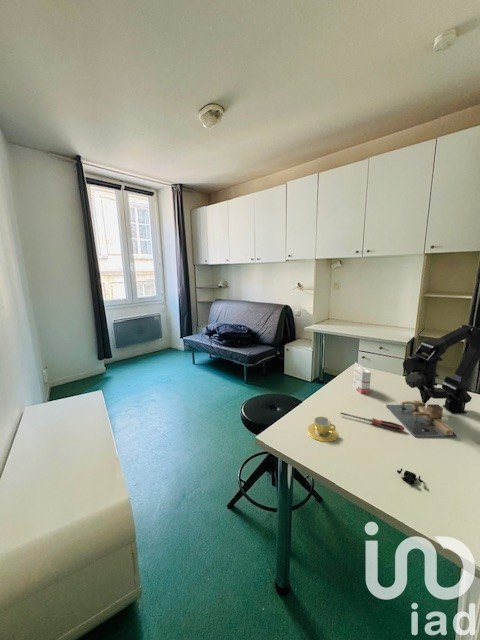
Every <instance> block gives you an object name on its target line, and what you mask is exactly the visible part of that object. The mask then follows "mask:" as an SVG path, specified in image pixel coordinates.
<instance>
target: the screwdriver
mask: <svg viewBox="0 0 480 640" xmlns="http://www.w3.org/2000/svg"><path fill="white" fill-rule="evenodd" d="M339 414H341V415H344V416H347V417H352V418H355V419H360V420H363V421H367V422H369V423H371V425H377V426H379V427H381V428H382V427H383V428H386V429H389V430H392V431H399V432H404V431H405V426H404V425H403V424H402V425H401V424H399V423H396V422H393V421H387V420H382V419H376V418H374V417H373V418H366V417H361V416H357V415H355V414H353V415H352V414H349V413H345V412H340V413H339Z"/></svg>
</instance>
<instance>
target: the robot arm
mask: <svg viewBox="0 0 480 640" xmlns="http://www.w3.org/2000/svg"><path fill="white" fill-rule="evenodd" d="M467 339H468V344H469V346H468V348H467V350H466V352H465V354H464V356H463V357H462V359H461V361H460V363H459V365H458V366H457V368H456V370H455V372H454V374H452V375H450V376H448V375H446V376H445V378H444V380H443V381H442V382H441V384H442V385H441V387H437V386H438V383H437V382H436V379H437V378H439V376H440V375H439V374H438V373H437V372H438V371H437V370H438V362H442V361H443V358H442V357H441V356H442V355H444V354H445V353H447V350H448V349H449V348H450V347H453V346H454V345H456V344H458V343H460V342H463V341H465V340H467ZM479 361H480V327H476V326H474V325H473V326H472V325H469V324H462V325H461V326H460V327H459V328H456V329H455V330H453V331H451V332H448V333H446V334H445V335H443V336H440V337H438V338H431V339H430V338H429V339H427V340H424V341H422V342H421V344H420V345H419V346H418V348H417V349H416V350H415V352H414V353H413V356H407V358H406V359H404V360H403V362H402V367H403V370H404V372H406V373H408V375H407V376H405V377H404V380H405V383H406V385H407V386H409V388H411V389H414V388H417V390H418V391H419V394H420V398H421V401H422V402H423V403H426V404H427V402H428V401H430V399H435V400H436V399H438V400H440V399H441V400H442V399H445V401H444V404H443V405H442V408H443V409H444V408H445V410H447V411H449V413H451V414H455V415H456V414H458V415H459V414H461V415H462V414H463V415H464V414H466V415H467V414H468V412H467V411H466V410H465V408H466V404H468V403H470V402H471V401H472V396H471V394H469V393H468V390H469V388H470V387H469V383H468V380H469V379H470V376H471V374H472V373H473V372H474V369H476V366H477V365H478V362H479Z"/></svg>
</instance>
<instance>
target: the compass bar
mask: <svg viewBox="0 0 480 640" xmlns="http://www.w3.org/2000/svg"><path fill="white" fill-rule="evenodd" d="M399 404H400V405H402V408H403V409H404V405H413V406H412V407H413V408H414V409H417V410H419V411H420V412H426V411H427V402H426V403H423V402H422V400H409V401H408V400H407V401H406V400H402V401H400V402H399ZM425 417H426V416H425ZM432 423H433V424H434V425H435V426H436V427H438V428H439V429H440V430H441V431H442V432H443V433H444V434H445V435H452V434H453V432H454V430H453V429H452V428H451V427H450V426H449V425H447V424H446V423H445V422H443V421H442V420H440V419H439V418H432Z"/></svg>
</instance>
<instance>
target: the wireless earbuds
mask: <svg viewBox="0 0 480 640" xmlns="http://www.w3.org/2000/svg"><path fill="white" fill-rule="evenodd" d="M396 472H397V474H399V475H401V474H402V472H403V468H400V470H398V469H397V470H396ZM402 479H403V481H404V482H405V483H407V484H410V485H415V484H416V482H415V481H416V479H417V475H416V473H414V472H412V471H410V470H405V471H404V473H403V477H402ZM418 482H419V483H424V480H422V479H421V475H418Z"/></svg>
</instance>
